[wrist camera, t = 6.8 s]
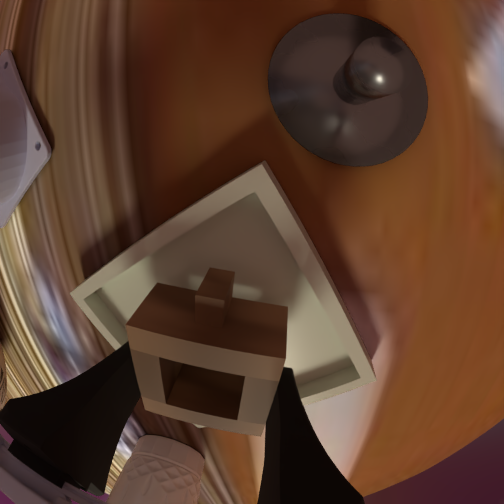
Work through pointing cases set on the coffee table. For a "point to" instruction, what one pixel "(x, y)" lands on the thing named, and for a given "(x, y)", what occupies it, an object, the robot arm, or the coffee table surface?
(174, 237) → the tray
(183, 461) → the white cup
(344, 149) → the grey knobbed lid
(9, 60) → the robot arm
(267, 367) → the brown square frame
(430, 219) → the coffee table surface
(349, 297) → the coffee table surface
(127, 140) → the coffee table surface
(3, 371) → the planter
